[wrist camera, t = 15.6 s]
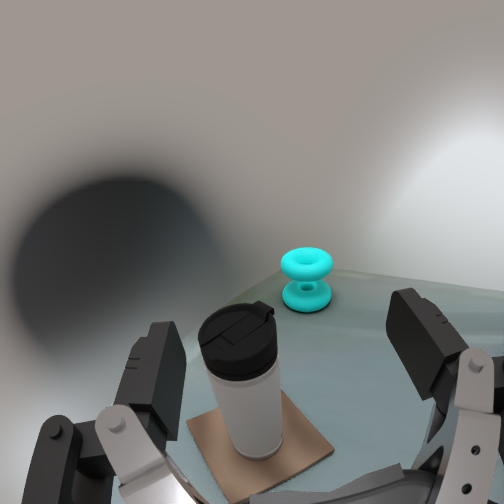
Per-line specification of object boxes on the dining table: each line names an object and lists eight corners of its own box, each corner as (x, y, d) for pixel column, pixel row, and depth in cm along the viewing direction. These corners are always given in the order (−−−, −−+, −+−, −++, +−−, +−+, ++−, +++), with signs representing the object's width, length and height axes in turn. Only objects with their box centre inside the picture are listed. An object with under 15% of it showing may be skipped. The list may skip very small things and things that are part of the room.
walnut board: (275, 386, 39) (274, 381, 39) (333, 452, 28) (334, 448, 27) (187, 424, 34) (185, 420, 33) (232, 506, 23) (230, 504, 22)
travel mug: (295, 436, 30) (296, 318, 21) (256, 469, 26) (228, 367, 17) (260, 410, 34) (242, 289, 26) (222, 439, 31) (179, 324, 22)
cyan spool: (344, 258, 51) (300, 275, 48) (341, 302, 56) (300, 321, 52) (311, 240, 60) (270, 254, 56) (312, 281, 64) (273, 296, 60)
